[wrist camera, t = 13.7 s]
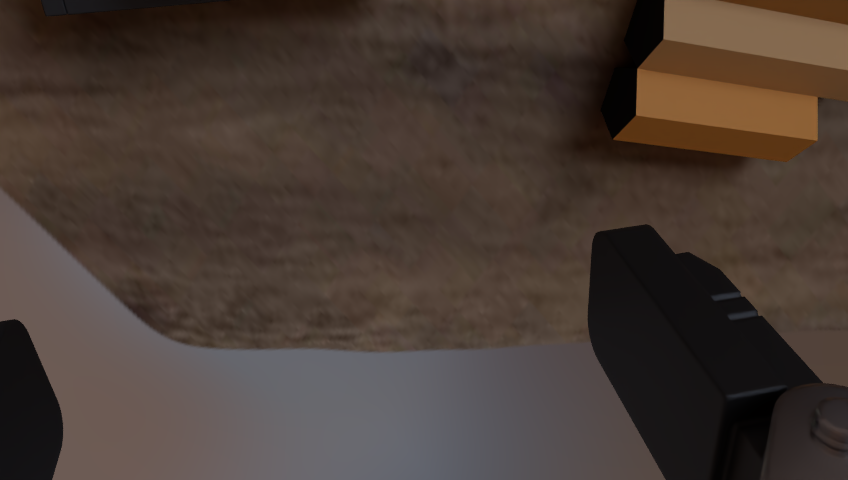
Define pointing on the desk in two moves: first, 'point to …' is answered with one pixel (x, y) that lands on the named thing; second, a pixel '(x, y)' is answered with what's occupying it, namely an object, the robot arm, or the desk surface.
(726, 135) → the pan flute
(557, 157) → the desk surface
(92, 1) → the tray
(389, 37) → the desk surface
